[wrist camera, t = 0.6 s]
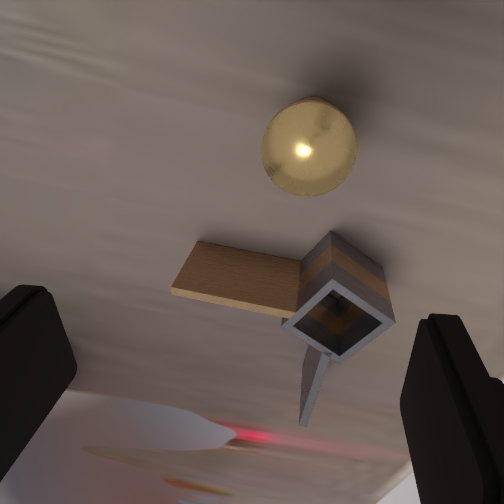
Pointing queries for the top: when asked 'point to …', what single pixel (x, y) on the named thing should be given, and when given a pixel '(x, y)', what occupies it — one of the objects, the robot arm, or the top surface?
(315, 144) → the gold rounded cylinder
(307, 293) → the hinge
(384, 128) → the top surface
